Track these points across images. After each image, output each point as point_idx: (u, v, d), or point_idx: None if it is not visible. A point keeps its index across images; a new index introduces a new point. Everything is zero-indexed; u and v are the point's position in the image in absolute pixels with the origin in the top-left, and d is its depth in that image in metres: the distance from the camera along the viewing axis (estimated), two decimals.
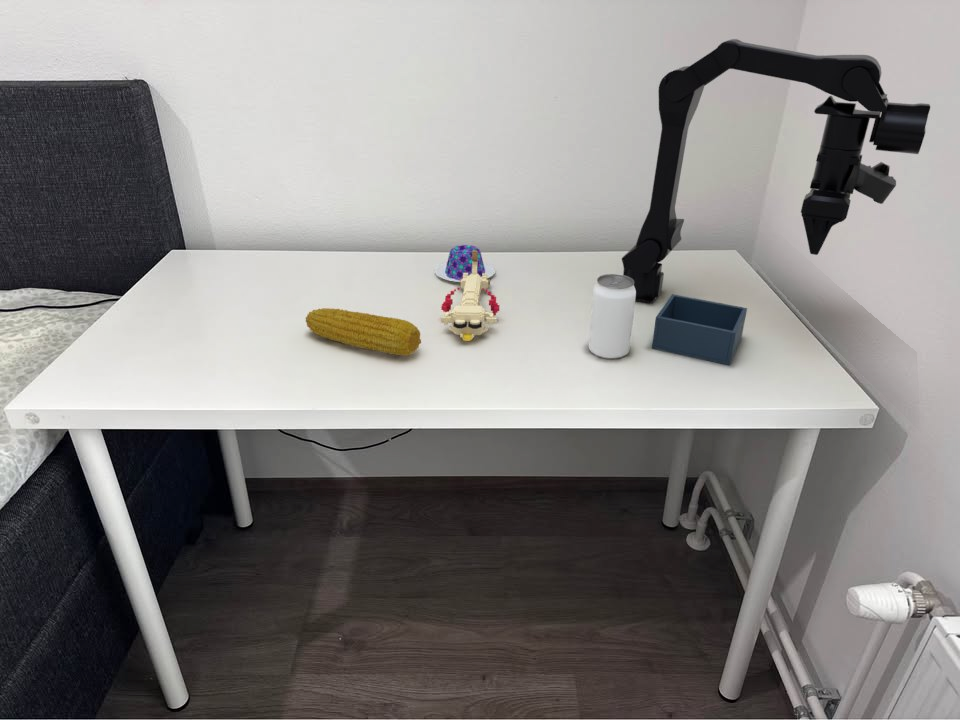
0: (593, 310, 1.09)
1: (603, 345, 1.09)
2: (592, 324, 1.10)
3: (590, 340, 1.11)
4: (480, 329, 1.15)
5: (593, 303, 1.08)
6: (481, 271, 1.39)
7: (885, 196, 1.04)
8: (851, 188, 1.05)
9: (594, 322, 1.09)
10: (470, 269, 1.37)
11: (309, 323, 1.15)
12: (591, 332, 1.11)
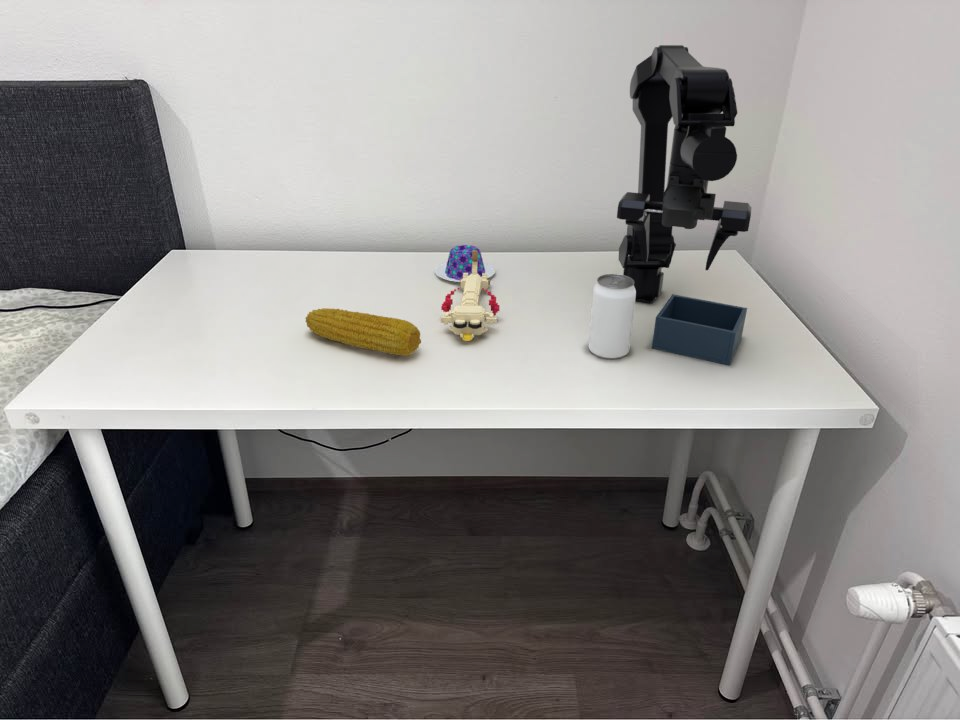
0: (593, 310, 1.09)
1: (603, 345, 1.09)
2: (592, 324, 1.10)
3: (590, 340, 1.11)
4: (480, 329, 1.15)
5: (593, 303, 1.08)
6: (481, 271, 1.39)
7: (663, 217, 0.98)
8: (662, 202, 1.02)
9: (594, 322, 1.09)
10: (470, 269, 1.37)
11: (309, 323, 1.15)
12: (591, 332, 1.11)
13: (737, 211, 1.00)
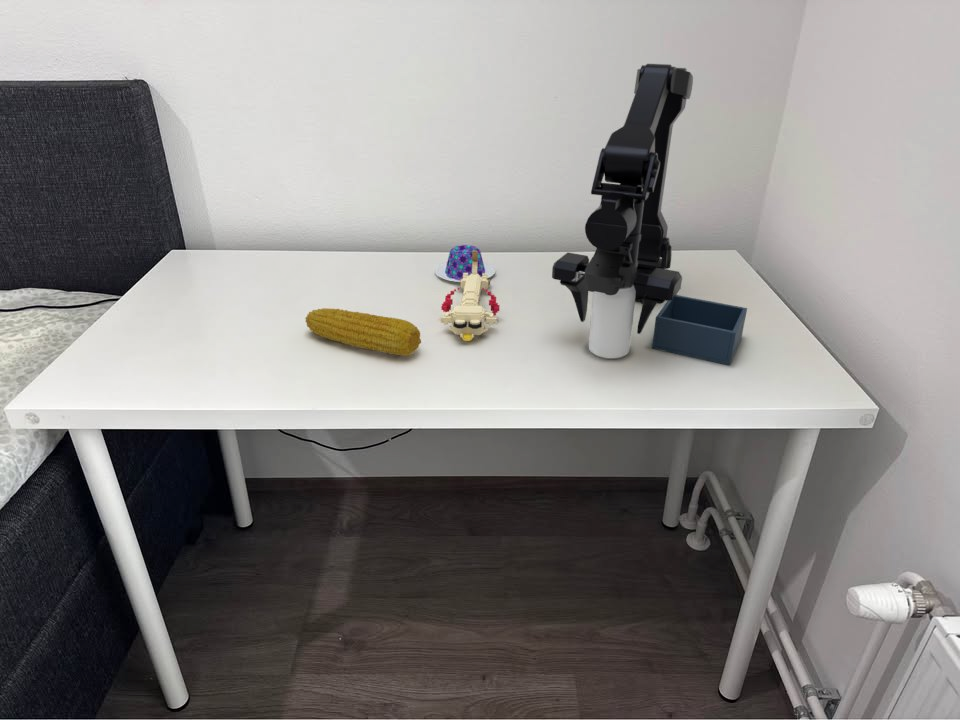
0: (593, 310, 1.09)
1: (603, 345, 1.09)
2: (592, 324, 1.10)
3: (590, 340, 1.11)
4: (480, 329, 1.15)
5: (593, 303, 1.08)
6: (481, 271, 1.39)
7: (585, 282, 1.01)
8: None
9: (593, 322, 1.09)
10: (470, 269, 1.37)
11: (309, 323, 1.15)
12: (591, 332, 1.11)
13: (662, 280, 1.01)
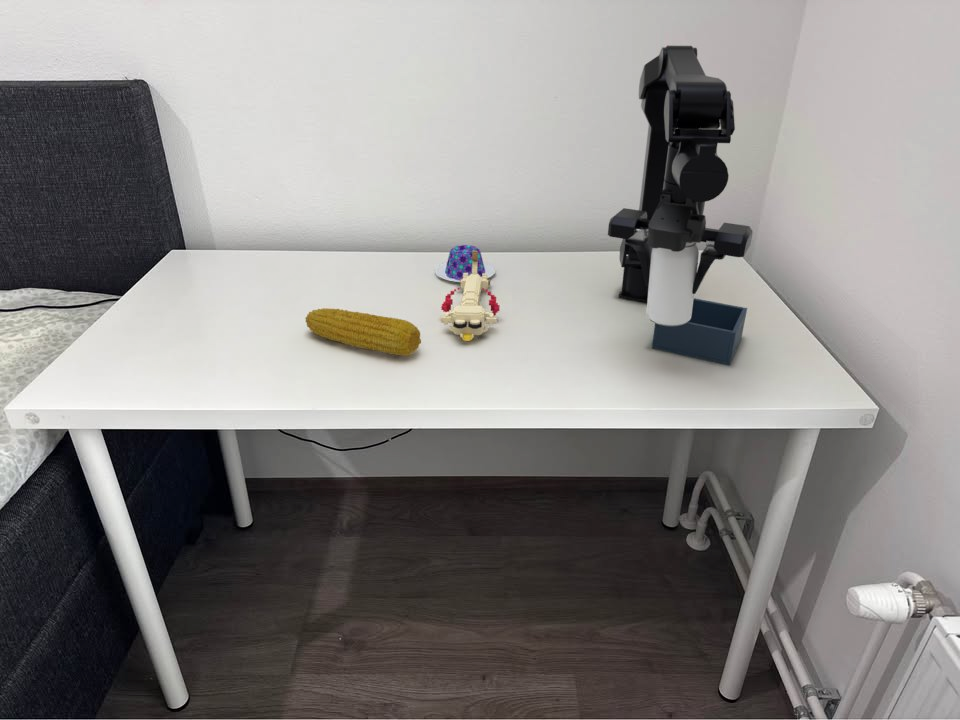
0: (652, 273, 1.00)
1: (664, 311, 1.01)
2: (651, 289, 1.01)
3: (648, 307, 1.03)
4: (480, 329, 1.15)
5: (652, 266, 1.00)
6: (481, 271, 1.39)
7: (648, 238, 0.92)
8: None
9: (653, 286, 1.01)
10: (470, 269, 1.37)
11: (309, 323, 1.15)
12: (650, 298, 1.02)
13: (732, 235, 0.92)
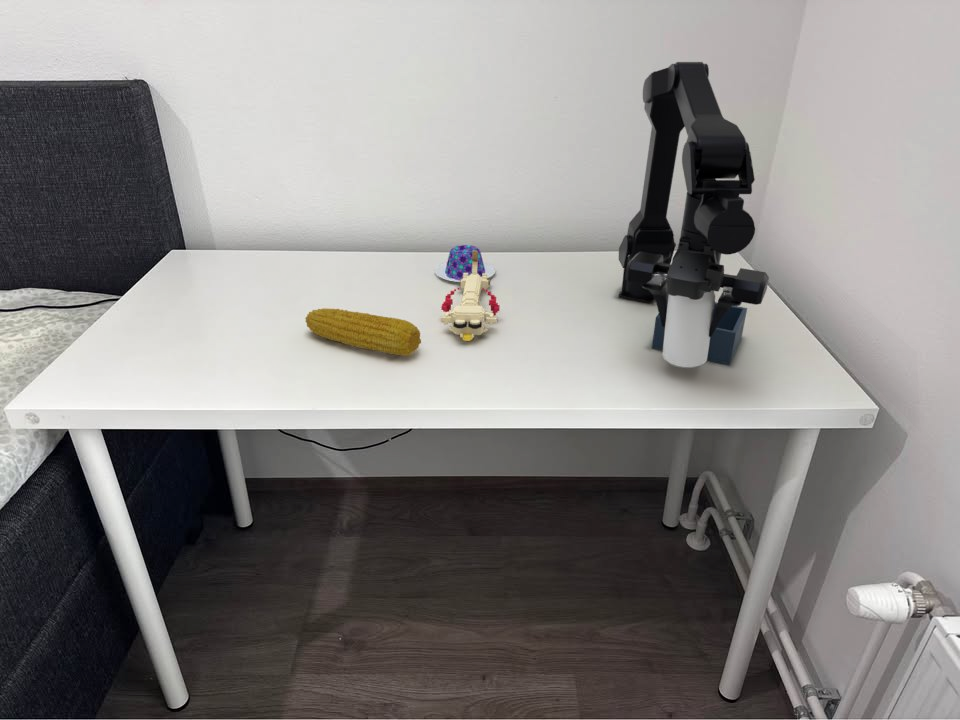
0: (669, 317, 1.01)
1: (680, 353, 1.02)
2: (667, 332, 1.02)
3: (665, 348, 1.04)
4: (480, 329, 1.15)
5: (669, 309, 1.01)
6: (481, 271, 1.39)
7: (667, 286, 0.94)
8: None
9: (670, 329, 1.02)
10: (470, 269, 1.37)
11: (309, 323, 1.15)
12: (666, 340, 1.03)
13: (750, 282, 0.94)
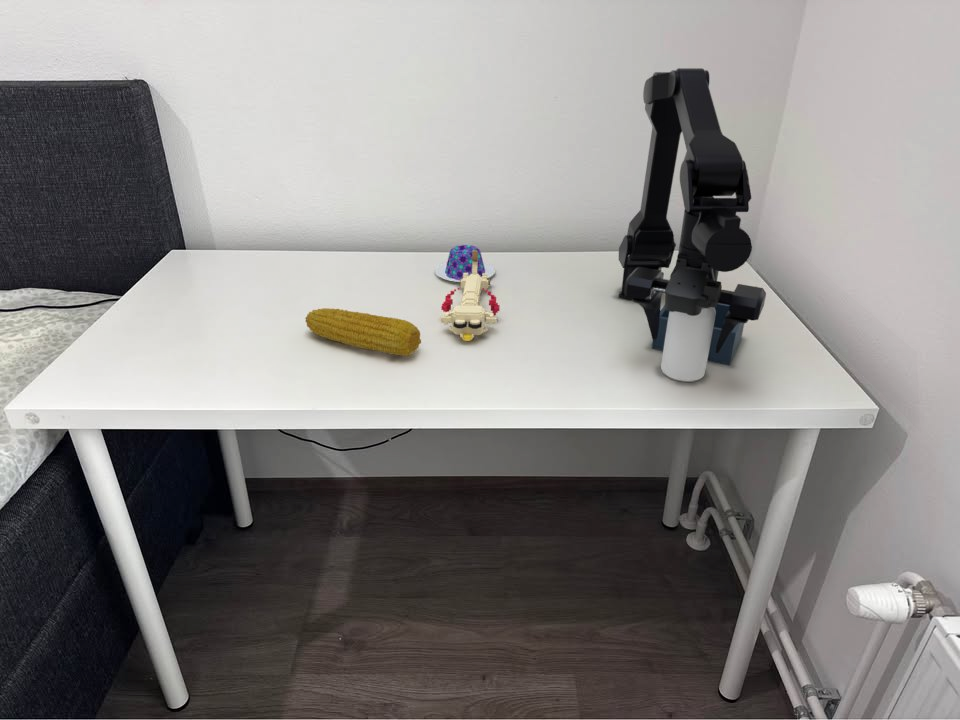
0: (669, 330, 1.02)
1: (679, 367, 1.03)
2: (667, 345, 1.04)
3: (664, 362, 1.05)
4: (480, 329, 1.15)
5: (669, 323, 1.02)
6: (481, 271, 1.39)
7: (665, 302, 0.95)
8: None
9: (669, 343, 1.03)
10: (470, 269, 1.37)
11: (309, 323, 1.15)
12: (665, 353, 1.04)
13: (747, 298, 0.95)
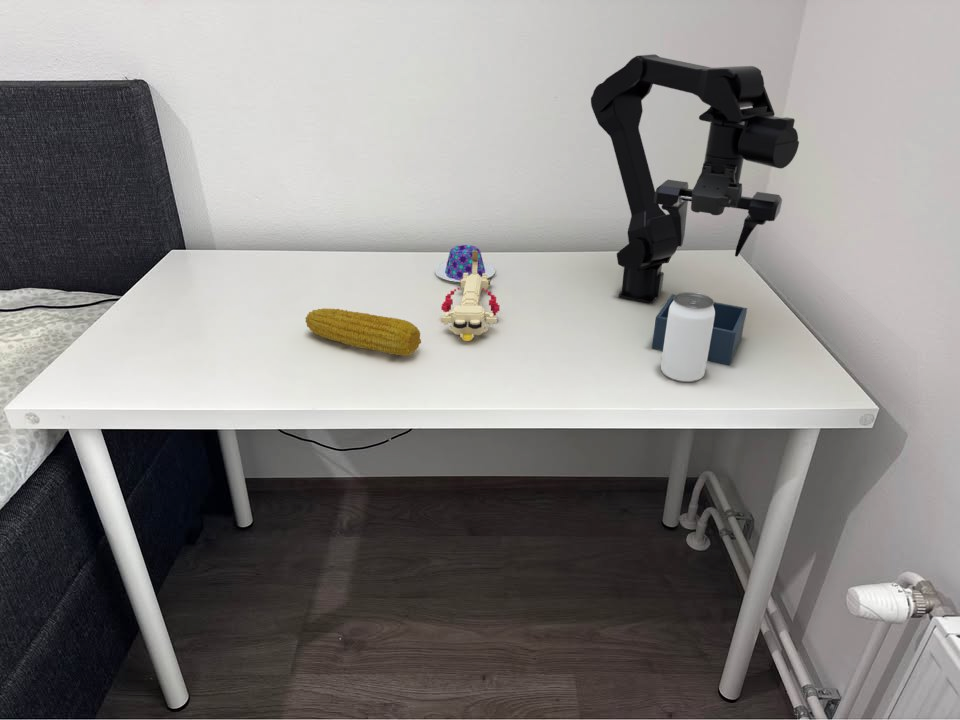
0: (668, 331, 1.02)
1: (679, 367, 1.03)
2: (667, 345, 1.04)
3: (663, 362, 1.05)
4: (480, 329, 1.15)
5: (669, 323, 1.02)
6: (481, 271, 1.39)
7: (691, 203, 1.07)
8: None
9: (669, 343, 1.03)
10: (470, 269, 1.37)
11: (309, 323, 1.15)
12: (665, 354, 1.04)
13: (765, 201, 1.06)
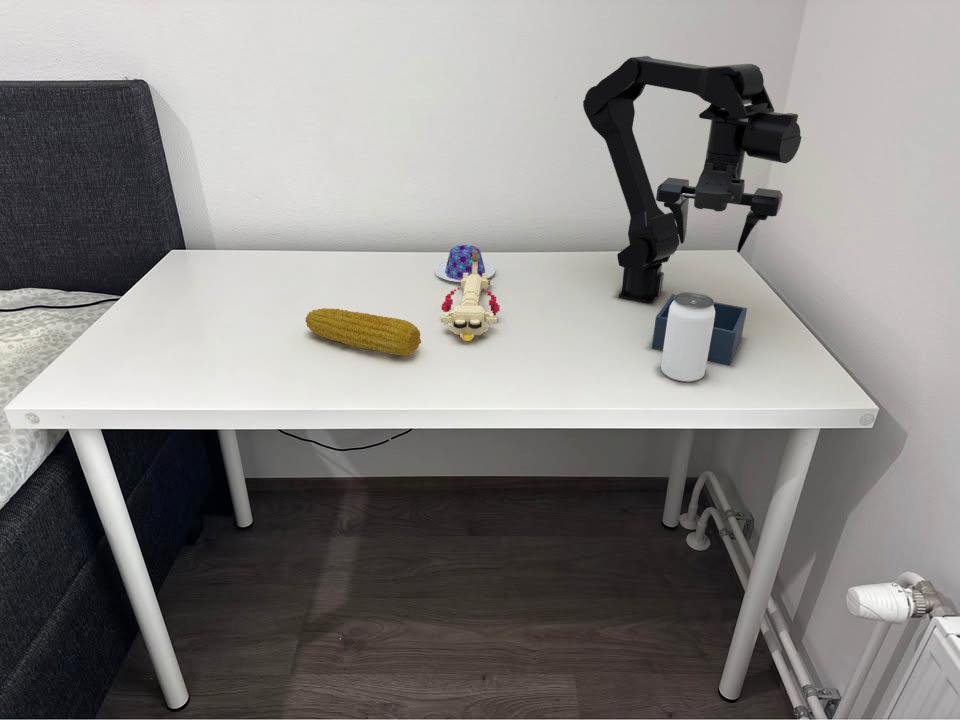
0: (669, 330, 1.02)
1: (679, 367, 1.03)
2: (667, 345, 1.04)
3: (663, 362, 1.05)
4: (480, 329, 1.15)
5: (669, 323, 1.02)
6: (481, 271, 1.39)
7: (695, 200, 1.08)
8: None
9: (669, 343, 1.03)
10: (470, 269, 1.37)
11: (309, 323, 1.15)
12: (665, 353, 1.04)
13: (766, 197, 1.08)
